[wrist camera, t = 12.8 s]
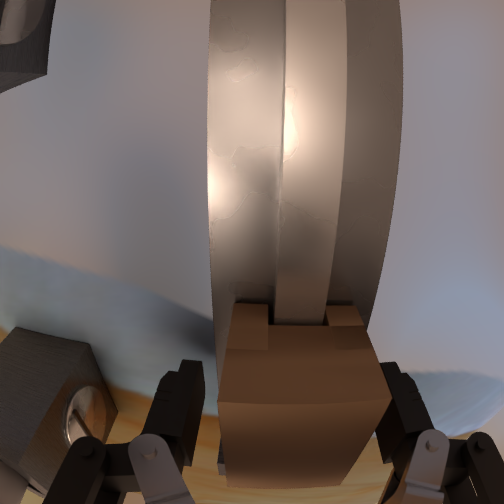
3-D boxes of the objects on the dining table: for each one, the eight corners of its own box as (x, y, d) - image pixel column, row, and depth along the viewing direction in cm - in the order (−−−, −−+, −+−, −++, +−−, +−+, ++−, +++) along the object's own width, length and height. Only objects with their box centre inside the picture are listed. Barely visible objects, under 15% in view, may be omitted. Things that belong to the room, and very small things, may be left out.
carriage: (233, 303, 11) (217, 401, 7) (355, 305, 10) (392, 398, 6) (236, 406, 13) (227, 486, 9) (328, 406, 13) (339, 485, 9)
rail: (223, -92, 5) (210, -139, 2) (375, -78, 5) (402, -118, 2) (225, 428, 16) (219, 476, 13) (325, 429, 16) (331, 476, 13)
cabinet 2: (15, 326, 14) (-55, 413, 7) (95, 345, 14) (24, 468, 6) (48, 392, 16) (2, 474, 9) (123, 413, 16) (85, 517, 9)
